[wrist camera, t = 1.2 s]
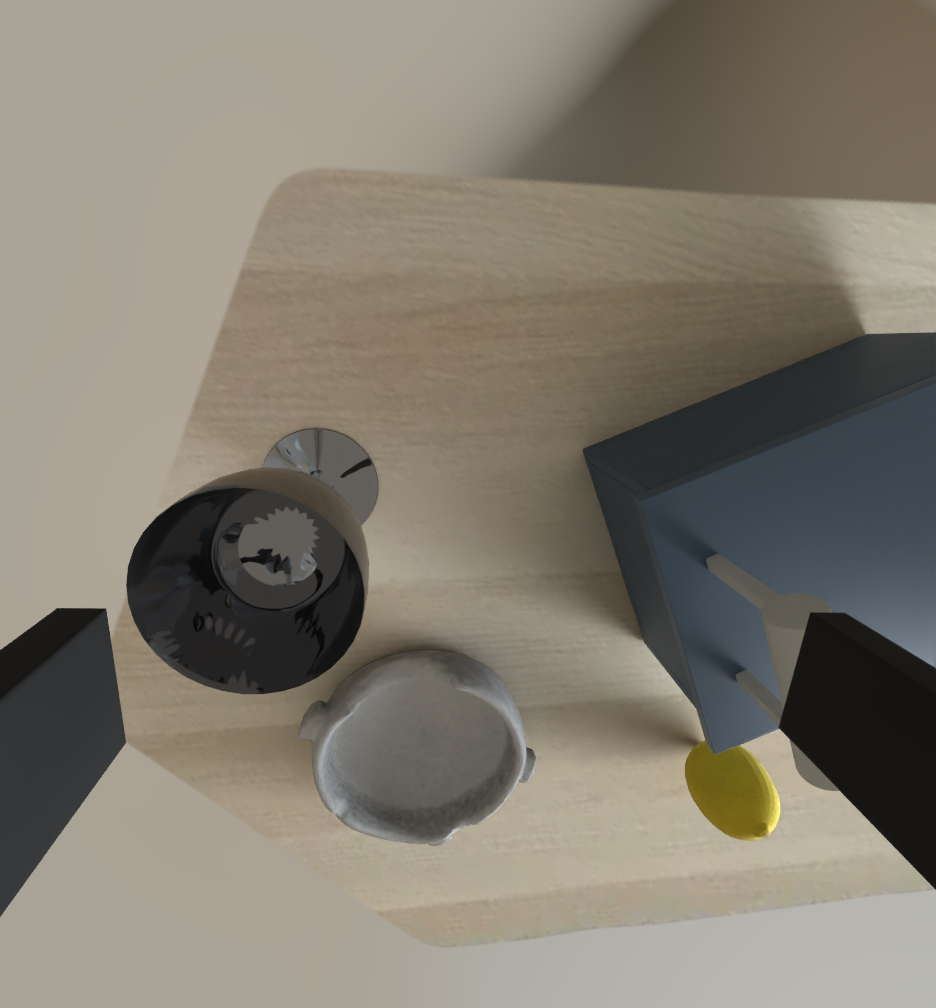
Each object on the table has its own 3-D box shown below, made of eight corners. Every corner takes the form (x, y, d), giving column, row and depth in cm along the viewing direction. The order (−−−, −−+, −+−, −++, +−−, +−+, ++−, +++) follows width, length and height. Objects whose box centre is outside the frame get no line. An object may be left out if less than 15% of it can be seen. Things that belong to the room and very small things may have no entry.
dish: (284, 696, 36) (266, 749, 32) (456, 600, 36) (464, 639, 31) (394, 826, 41) (392, 890, 36) (549, 743, 40) (568, 797, 35)
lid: (706, 744, 29) (804, 875, 22) (633, 496, 24) (727, 560, 17) (1051, 607, 29) (1264, 695, 21) (1047, 329, 24) (1320, 322, 17)
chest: (644, 642, 38) (719, 738, 29) (582, 449, 33) (649, 489, 24) (893, 543, 38) (1050, 607, 29) (867, 333, 33) (1046, 329, 24)
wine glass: (229, 449, 31) (76, 538, 17) (353, 402, 31) (305, 450, 17) (289, 562, 33) (199, 724, 19) (404, 518, 33) (399, 648, 19)
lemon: (665, 777, 42) (722, 872, 35) (668, 721, 41) (728, 808, 33) (730, 767, 43) (800, 859, 35) (735, 712, 41) (809, 795, 33)
